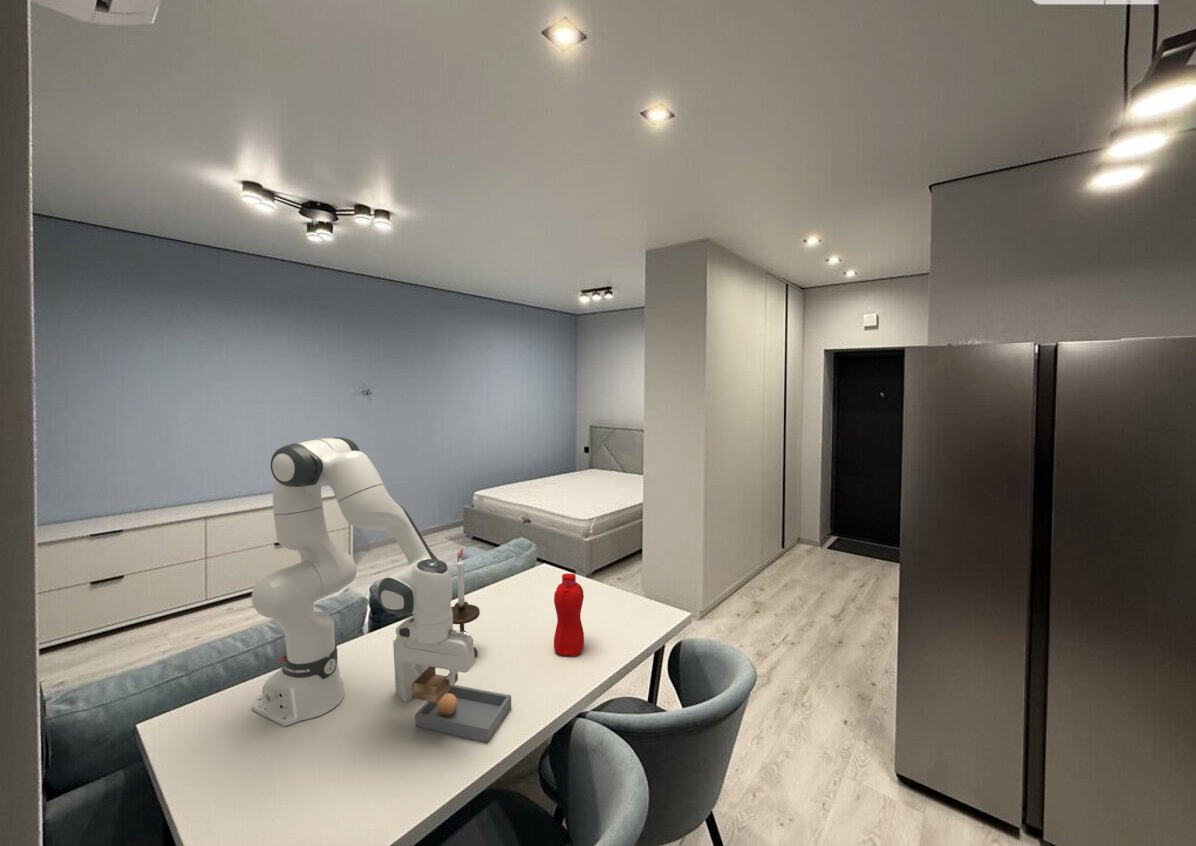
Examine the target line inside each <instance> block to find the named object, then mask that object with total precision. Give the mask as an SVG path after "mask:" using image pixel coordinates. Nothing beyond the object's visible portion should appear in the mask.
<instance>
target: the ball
mask: <svg viewBox="0 0 1196 846" xmlns="http://www.w3.org/2000/svg"><path fill="white" fill-rule="evenodd" d="M456 708H457V698H456V697H455V696H454V695H453V694H451V693H447V694H445V695H444V696H443V697H442V698H441V700H440V701H439V702H438V703H437V709H438V711H439V713H440V714H442V715H444V716H447V715H450V714H452V713H453V712H454V711H455V710H456Z"/></svg>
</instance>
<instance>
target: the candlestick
mask: <svg viewBox="0 0 1196 846" xmlns="http://www.w3.org/2000/svg"><path fill="white" fill-rule="evenodd" d="M463 550H464V549H463V547H461V549H460V551H459V552H460V553H459V555H458V557H459V560H458V561H457V597H458V598H457V601H458V602H456V603H454V606H451V608H452V612H453V625H459V631H460V632H467V631H466V630H465V624H468V623H472V622H474V621H475V620H477V619H478V618H479V616H480V614H481V613H480V608H479V607H478V606H477V605H474V604H469V603H468V602H467V601H466V600H465V574H464V573H465V565H464V564H465V563H464V561H463V559H462V556H463ZM473 648H474V655H475V660H476V659H477V658H478V649H477V648H476V647H474V646H473Z"/></svg>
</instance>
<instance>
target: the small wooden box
mask: <svg viewBox="0 0 1196 846" xmlns="http://www.w3.org/2000/svg"><path fill="white" fill-rule="evenodd" d="M448 673H449V672H448ZM458 673H459V672H457V674H456V675H455V683H454V684H453V685H456V683H457V682H458V681H459V675H458ZM451 674H452V673H449V674H447V675H441V674H437V673H436V668H435V667H429V668H427V669H426V670H425V671H424V672H423V673H422V674H421V675H420V676H419V677H418V678H417V679H416V680H415V681H414V682H413V683H412V698H413V699H415V700H421V701H426V702H427V701H430V702H435V703H438V702H439V701H440V700H441V698H442V697H443V696H444V695H445V694H446V693H447V692H448V691H449V689H450V688H451V687H452V686H453V685H452V686H449V685H446V678H447V677H448V676H449V675H451Z"/></svg>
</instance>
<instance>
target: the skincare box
mask: <svg viewBox="0 0 1196 846" xmlns="http://www.w3.org/2000/svg"><path fill="white" fill-rule="evenodd" d="M392 643H393V644H392V646H393V662H394V683H395V684H394V685H395V693H396V694H397V696H399V697H400V699H401V700H402V701H403V703H407V702H409V701H411V700H414V698H412V683H413V682H414V681H415V680H416V673H415V672H414V670H413V668H412V667H411V663H407V662H401V661H398V660H397V659H396V657H395V639H393V641H392ZM421 667H422V670H426V669H427V668H429V667H430V666H424V665H421Z"/></svg>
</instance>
